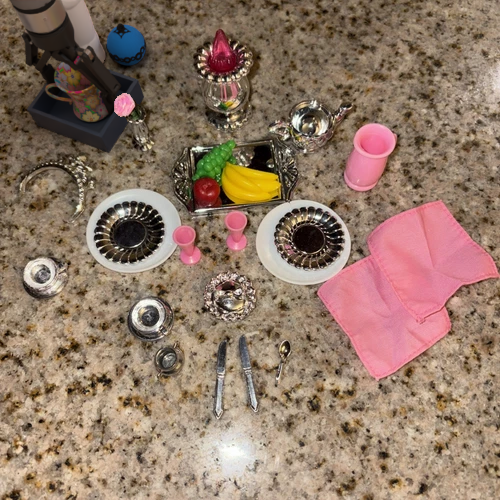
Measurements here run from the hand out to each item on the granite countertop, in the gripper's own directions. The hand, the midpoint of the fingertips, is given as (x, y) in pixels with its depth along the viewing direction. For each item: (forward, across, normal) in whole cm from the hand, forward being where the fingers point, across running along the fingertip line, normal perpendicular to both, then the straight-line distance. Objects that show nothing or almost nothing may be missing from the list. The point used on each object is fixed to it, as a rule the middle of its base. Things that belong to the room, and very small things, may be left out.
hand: (86, 100), depth 103 cm
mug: (+3, 0, 0) cm, 3 cm away
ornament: (+4, -1, -16) cm, 16 cm away
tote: (+4, 0, 0) cm, 4 cm away
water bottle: (+4, +8, -12) cm, 15 cm away
